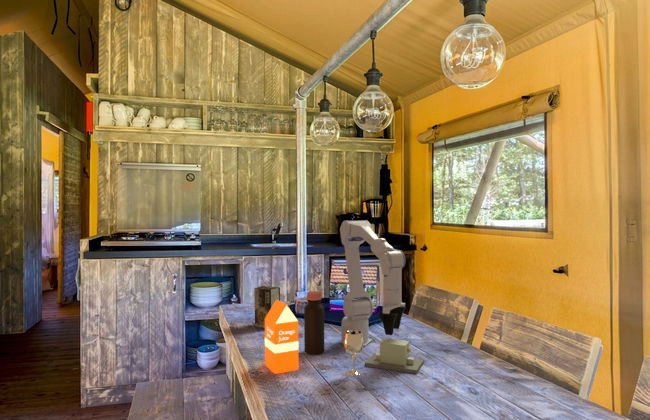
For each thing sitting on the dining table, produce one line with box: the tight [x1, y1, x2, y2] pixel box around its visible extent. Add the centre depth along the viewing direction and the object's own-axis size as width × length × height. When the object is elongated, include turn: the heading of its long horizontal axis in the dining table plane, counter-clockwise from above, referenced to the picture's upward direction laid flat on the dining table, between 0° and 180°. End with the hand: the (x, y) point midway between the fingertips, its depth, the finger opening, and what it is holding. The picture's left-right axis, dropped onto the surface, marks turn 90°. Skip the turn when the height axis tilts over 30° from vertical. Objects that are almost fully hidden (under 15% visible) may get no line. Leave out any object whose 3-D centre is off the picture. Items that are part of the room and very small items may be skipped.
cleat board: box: [364, 352, 425, 374], centre depth 137 cm, size 16×10×2 cm, turn 66°
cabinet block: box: [379, 337, 412, 366], centre depth 136 cm, size 9×5×6 cm, turn 66°
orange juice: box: [264, 299, 299, 375], centre depth 135 cm, size 8×9×20 cm
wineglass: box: [343, 330, 364, 377], centre depth 129 cm, size 6×6×12 cm
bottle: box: [303, 290, 325, 356], centre depth 149 cm, size 7×7×20 cm
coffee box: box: [253, 285, 281, 329], centre depth 182 cm, size 9×6×16 cm
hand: (392, 331), depth 140 cm, fingers open, 7 cm apart
